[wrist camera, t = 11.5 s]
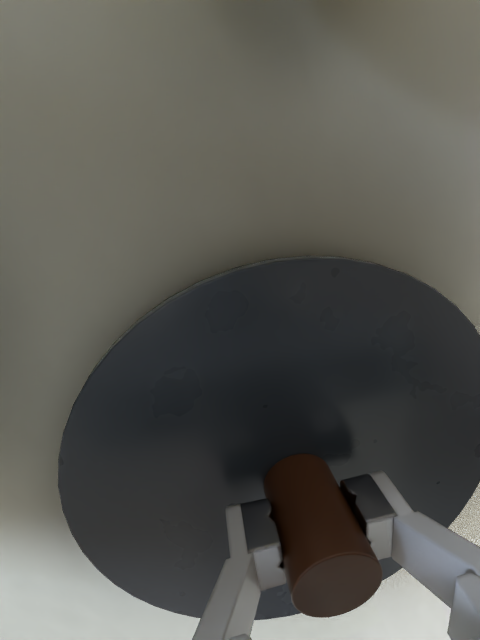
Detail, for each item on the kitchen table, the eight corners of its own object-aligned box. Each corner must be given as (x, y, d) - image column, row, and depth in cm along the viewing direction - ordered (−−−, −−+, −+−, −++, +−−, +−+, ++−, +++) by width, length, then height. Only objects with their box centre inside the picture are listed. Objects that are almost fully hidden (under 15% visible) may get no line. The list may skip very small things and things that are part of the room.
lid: (136, 628, 15) (113, 800, 10) (-11, 302, 9) (-200, 386, 5) (454, 544, 16) (548, 666, 12) (505, 216, 10) (727, 218, 6)
